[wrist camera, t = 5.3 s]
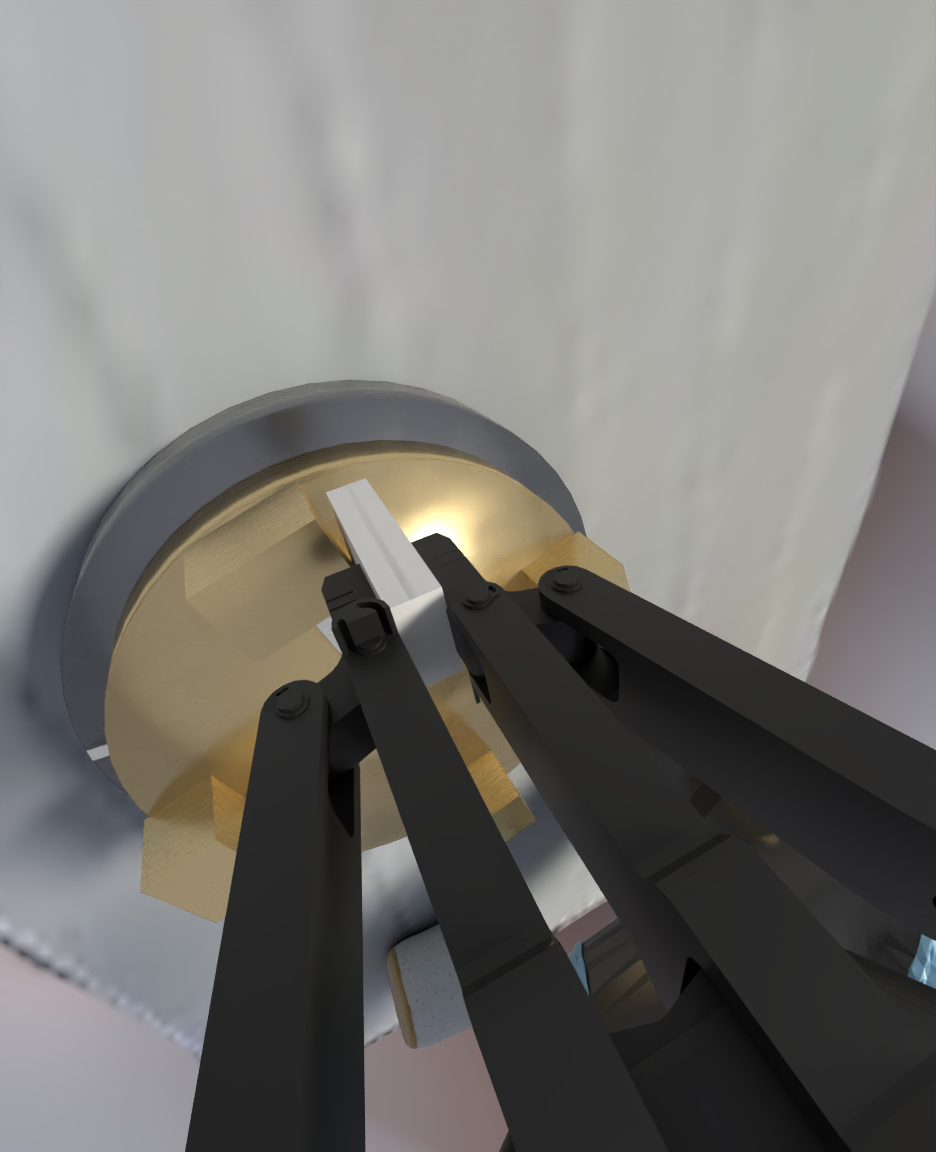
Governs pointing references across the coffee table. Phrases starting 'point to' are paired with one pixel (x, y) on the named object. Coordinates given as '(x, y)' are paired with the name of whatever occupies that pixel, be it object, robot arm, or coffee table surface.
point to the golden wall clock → (297, 643)
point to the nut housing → (233, 454)
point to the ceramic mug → (426, 989)
